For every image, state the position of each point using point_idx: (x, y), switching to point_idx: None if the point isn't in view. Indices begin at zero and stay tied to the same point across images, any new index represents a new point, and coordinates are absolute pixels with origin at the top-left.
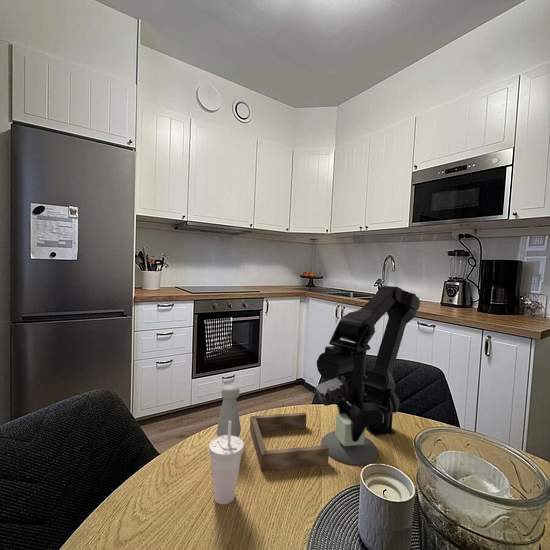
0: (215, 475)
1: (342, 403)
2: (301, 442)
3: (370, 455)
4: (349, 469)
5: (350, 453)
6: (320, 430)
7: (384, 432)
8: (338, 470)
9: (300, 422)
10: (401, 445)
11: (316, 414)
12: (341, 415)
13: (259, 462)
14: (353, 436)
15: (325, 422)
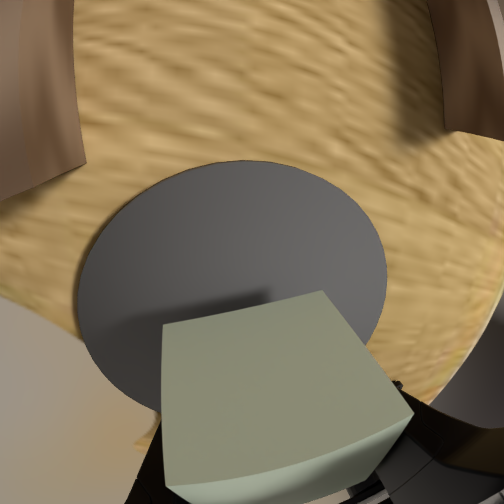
0: None
1: (448, 496)
2: (313, 34)
3: (159, 399)
4: (42, 287)
5: (160, 329)
6: (417, 204)
7: None
8: (20, 227)
9: (469, 96)
10: None
11: (496, 222)
12: (371, 448)
13: None
14: (158, 429)
15: (455, 248)
